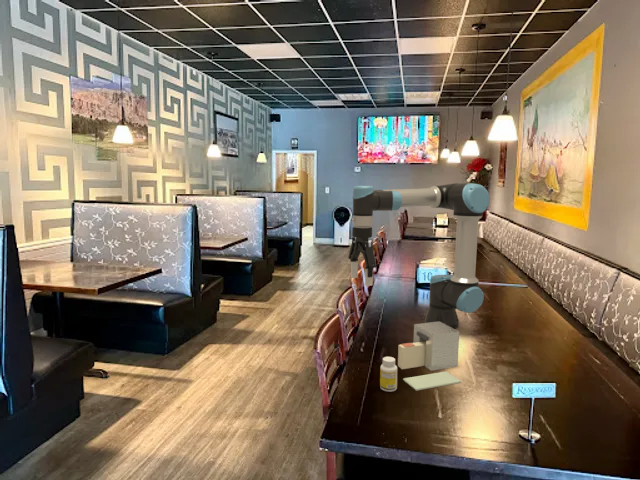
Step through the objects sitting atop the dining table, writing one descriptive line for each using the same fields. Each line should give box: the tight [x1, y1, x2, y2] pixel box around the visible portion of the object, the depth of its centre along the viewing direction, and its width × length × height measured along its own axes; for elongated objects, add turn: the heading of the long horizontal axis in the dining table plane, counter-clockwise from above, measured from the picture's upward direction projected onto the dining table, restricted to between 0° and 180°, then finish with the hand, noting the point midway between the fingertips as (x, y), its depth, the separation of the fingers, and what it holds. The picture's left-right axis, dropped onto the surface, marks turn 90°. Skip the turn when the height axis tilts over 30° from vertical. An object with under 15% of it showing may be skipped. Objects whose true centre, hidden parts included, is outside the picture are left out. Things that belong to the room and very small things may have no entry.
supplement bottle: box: [379, 356, 398, 393], centre depth 141 cm, size 5×5×10 cm
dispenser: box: [412, 321, 460, 372], centre depth 161 cm, size 12×12×13 cm
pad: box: [402, 370, 462, 391], centre depth 147 cm, size 17×8×1 cm, turn 110°
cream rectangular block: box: [397, 341, 426, 370], centre depth 159 cm, size 13×3×8 cm, turn 110°
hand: (361, 281), depth 171 cm, fingers open, 13 cm apart
